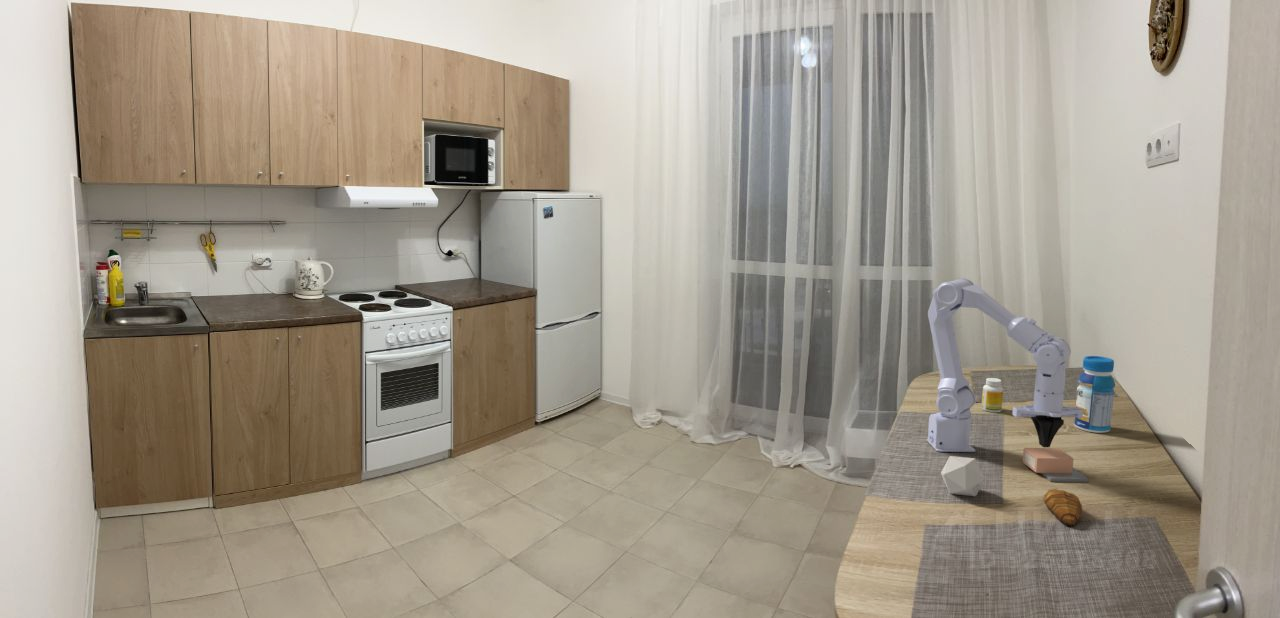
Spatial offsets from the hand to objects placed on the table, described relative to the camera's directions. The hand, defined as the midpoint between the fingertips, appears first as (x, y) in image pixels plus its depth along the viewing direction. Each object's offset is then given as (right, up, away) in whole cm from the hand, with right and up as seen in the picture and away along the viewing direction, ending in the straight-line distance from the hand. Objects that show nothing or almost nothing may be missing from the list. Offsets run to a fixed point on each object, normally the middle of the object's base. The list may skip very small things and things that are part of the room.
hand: (1044, 445), depth 145 cm
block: (-3, -4, +1) cm, 5 cm away
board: (+3, -6, +1) cm, 7 cm away
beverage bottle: (+30, -1, +26) cm, 39 cm away
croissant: (-8, -10, -18) cm, 22 cm away
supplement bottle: (+12, +1, +42) cm, 44 cm away
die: (-24, -9, -8) cm, 27 cm away
